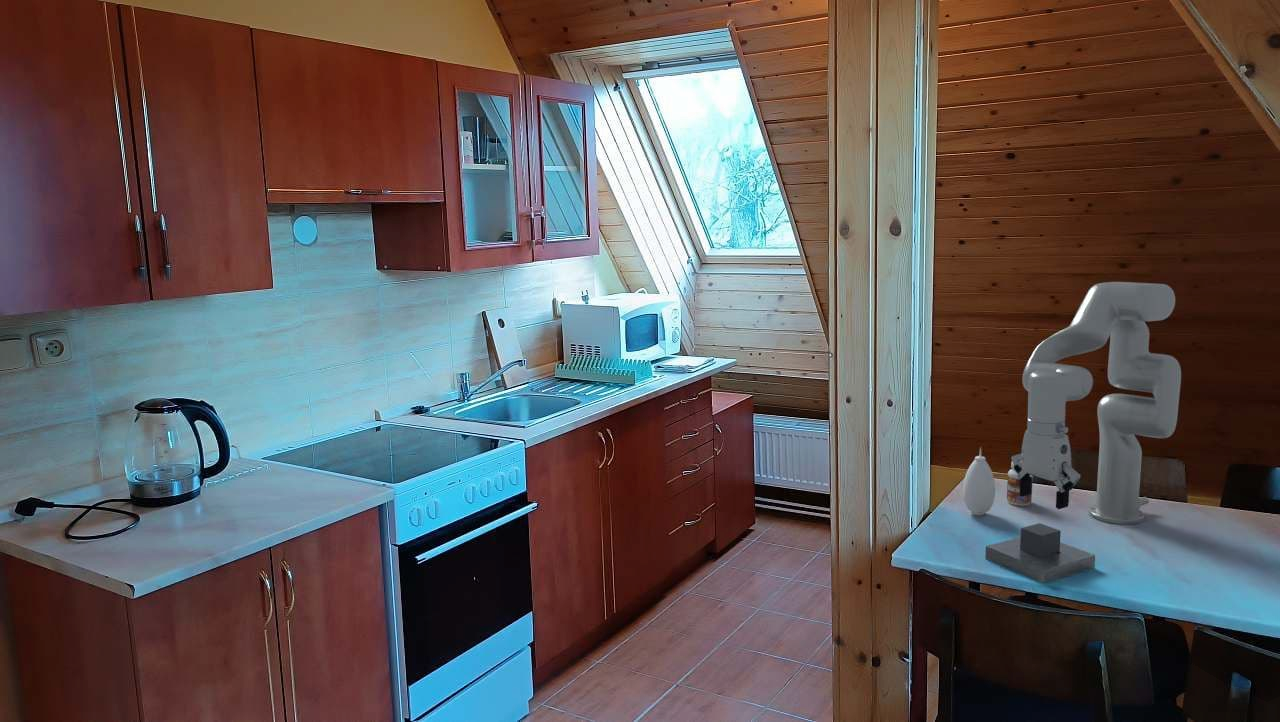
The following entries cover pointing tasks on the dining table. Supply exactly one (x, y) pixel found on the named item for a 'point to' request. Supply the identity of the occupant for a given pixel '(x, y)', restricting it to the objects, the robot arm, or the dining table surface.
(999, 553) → the socket
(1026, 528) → the plug
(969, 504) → the air blower bulb
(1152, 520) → the dining table surface
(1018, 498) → the pill bottle
